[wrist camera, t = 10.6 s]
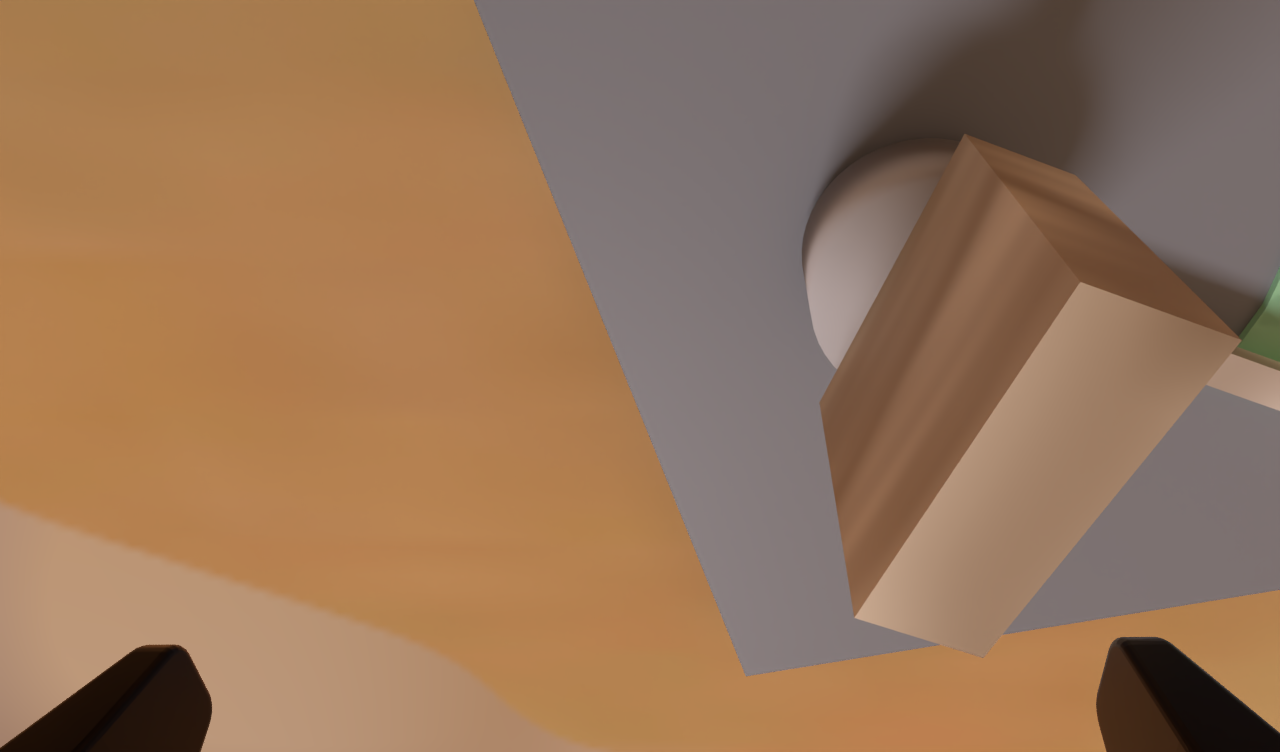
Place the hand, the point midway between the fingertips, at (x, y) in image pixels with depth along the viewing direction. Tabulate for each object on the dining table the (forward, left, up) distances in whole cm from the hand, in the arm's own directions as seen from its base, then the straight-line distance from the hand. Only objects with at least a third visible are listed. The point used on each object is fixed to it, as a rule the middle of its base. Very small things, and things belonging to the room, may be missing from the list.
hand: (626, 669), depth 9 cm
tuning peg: (+3, +7, -9) cm, 12 cm away
